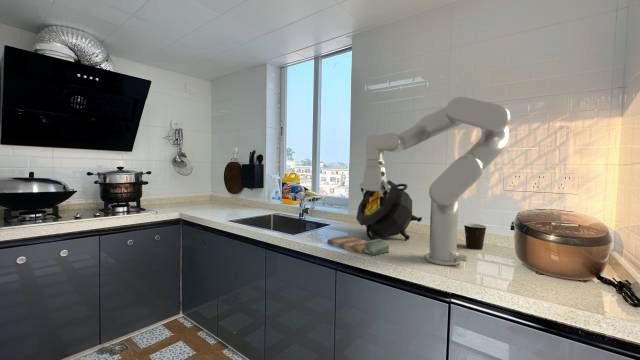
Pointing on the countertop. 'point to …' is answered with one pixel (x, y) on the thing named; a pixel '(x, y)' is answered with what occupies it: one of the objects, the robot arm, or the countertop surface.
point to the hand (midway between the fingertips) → (374, 204)
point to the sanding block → (376, 247)
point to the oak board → (348, 243)
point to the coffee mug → (474, 236)
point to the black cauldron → (387, 213)
